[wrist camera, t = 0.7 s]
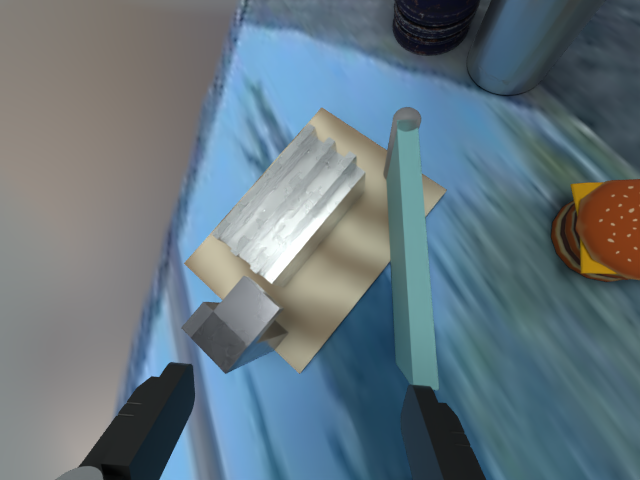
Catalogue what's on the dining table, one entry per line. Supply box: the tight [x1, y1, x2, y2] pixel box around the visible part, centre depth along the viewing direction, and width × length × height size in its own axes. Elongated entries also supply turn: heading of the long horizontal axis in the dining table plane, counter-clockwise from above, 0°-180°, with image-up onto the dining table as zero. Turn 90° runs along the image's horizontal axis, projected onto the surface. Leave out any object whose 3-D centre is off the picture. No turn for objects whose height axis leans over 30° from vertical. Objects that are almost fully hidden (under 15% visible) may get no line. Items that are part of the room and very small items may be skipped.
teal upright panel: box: [383, 107, 439, 390], centre depth 27 cm, size 21×2×10 cm, turn 0°
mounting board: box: [184, 108, 447, 374], centre depth 35 cm, size 25×18×2 cm
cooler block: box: [182, 123, 366, 374], centre depth 28 cm, size 20×12×12 cm, turn 140°
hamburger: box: [551, 179, 640, 282], centre depth 28 cm, size 9×10×7 cm
